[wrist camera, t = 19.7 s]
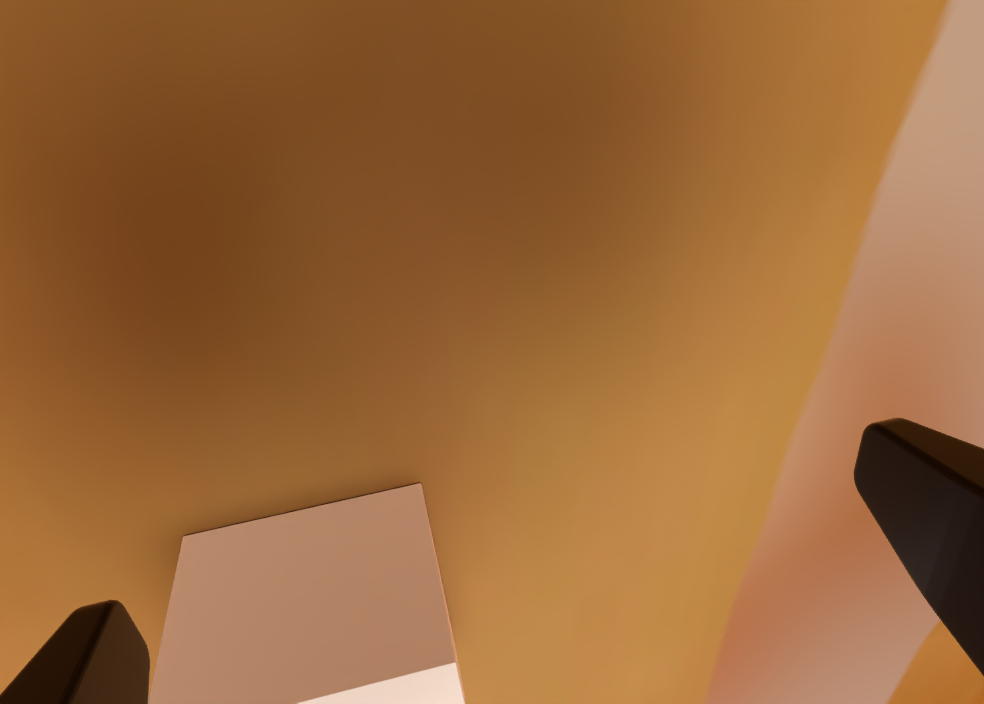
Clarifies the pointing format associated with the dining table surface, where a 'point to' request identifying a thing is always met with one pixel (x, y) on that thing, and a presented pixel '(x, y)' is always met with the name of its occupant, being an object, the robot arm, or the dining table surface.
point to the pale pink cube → (312, 610)
